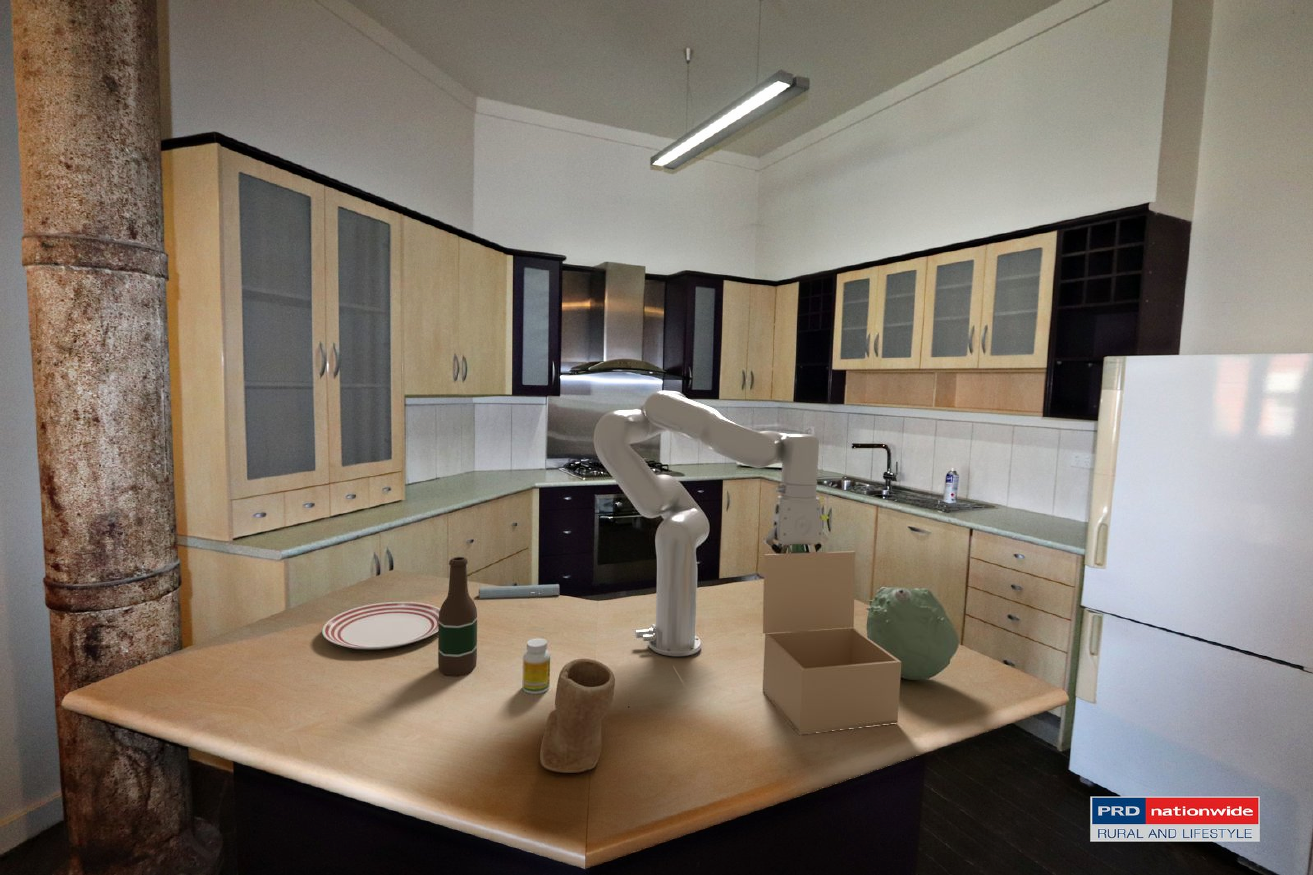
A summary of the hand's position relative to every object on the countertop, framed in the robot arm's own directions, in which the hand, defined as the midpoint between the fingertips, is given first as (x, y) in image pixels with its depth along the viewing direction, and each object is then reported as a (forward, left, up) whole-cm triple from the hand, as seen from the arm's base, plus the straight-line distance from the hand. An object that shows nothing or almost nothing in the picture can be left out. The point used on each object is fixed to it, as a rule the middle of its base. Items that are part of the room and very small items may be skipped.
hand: (794, 572), depth 130 cm
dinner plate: (-89, +34, -22) cm, 98 cm away
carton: (0, -16, -22) cm, 27 cm away
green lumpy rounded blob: (+24, -8, -22) cm, 34 cm away
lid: (0, -8, -10) cm, 13 cm away
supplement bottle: (-55, +1, -22) cm, 59 cm away
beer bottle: (-71, +12, -22) cm, 75 cm away
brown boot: (-49, -21, -22) cm, 58 cm away
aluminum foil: (-58, +54, -23) cm, 82 cm away
